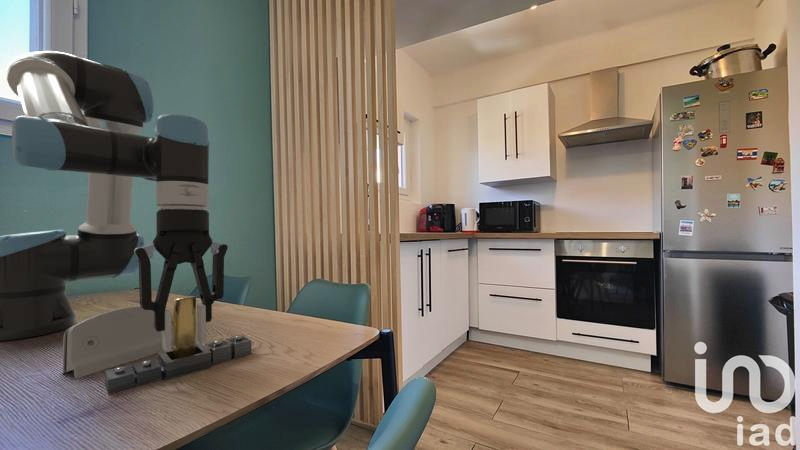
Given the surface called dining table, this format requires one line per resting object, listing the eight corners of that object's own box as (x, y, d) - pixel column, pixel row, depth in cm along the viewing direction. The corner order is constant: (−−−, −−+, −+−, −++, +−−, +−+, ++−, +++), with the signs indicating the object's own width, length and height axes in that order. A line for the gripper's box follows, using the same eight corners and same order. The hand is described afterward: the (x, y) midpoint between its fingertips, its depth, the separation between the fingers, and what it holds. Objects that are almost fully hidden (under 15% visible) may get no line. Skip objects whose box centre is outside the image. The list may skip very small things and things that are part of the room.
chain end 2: (158, 367, 56) (157, 349, 56) (240, 346, 66) (240, 330, 66) (166, 380, 52) (166, 359, 52) (253, 355, 62) (253, 338, 62)
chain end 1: (104, 381, 52) (104, 364, 52) (200, 357, 61) (200, 342, 61) (108, 396, 47) (108, 378, 47) (211, 367, 56) (211, 352, 56)
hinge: (73, 379, 52) (63, 317, 54) (61, 383, 54) (53, 323, 56) (183, 345, 67) (173, 297, 69) (170, 349, 69) (161, 302, 71)
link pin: (171, 368, 56) (171, 297, 56) (192, 362, 59) (193, 295, 59) (175, 373, 54) (176, 300, 54) (197, 368, 56) (198, 297, 57)
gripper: (119, 205, 48) (120, 367, 48) (244, 209, 60) (245, 337, 60) (114, 208, 53) (115, 353, 53) (230, 210, 65) (230, 328, 65)
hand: (184, 344), depth 56 cm, fingers open, 4 cm apart
